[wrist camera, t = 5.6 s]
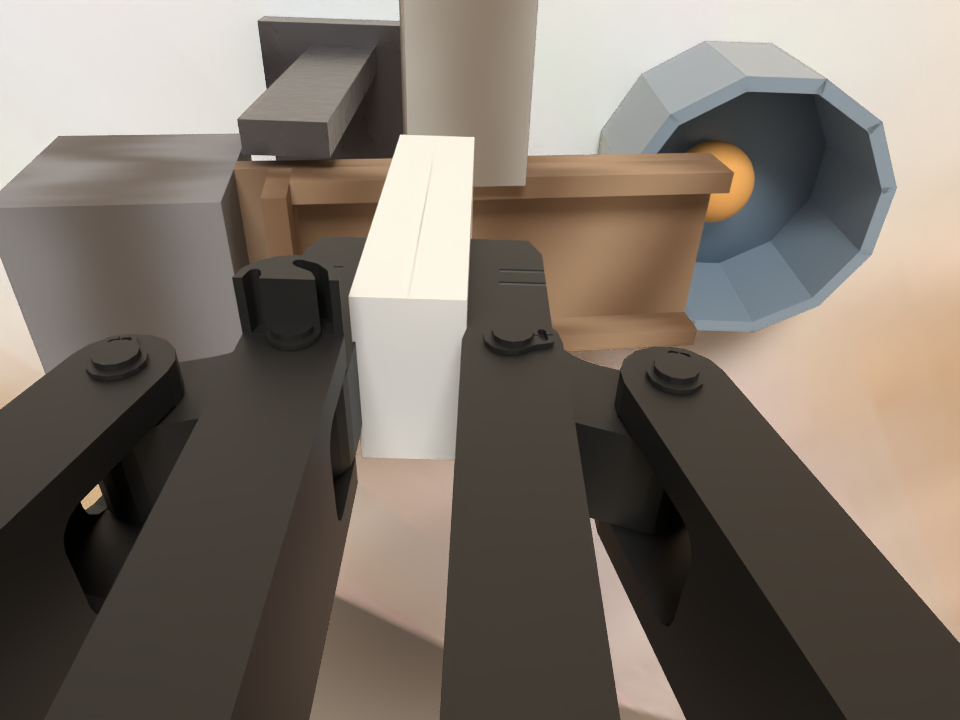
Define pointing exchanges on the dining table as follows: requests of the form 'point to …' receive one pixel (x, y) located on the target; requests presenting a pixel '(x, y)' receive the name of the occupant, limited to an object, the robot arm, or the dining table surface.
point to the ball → (742, 179)
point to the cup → (766, 176)
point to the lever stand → (326, 90)
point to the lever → (352, 208)
